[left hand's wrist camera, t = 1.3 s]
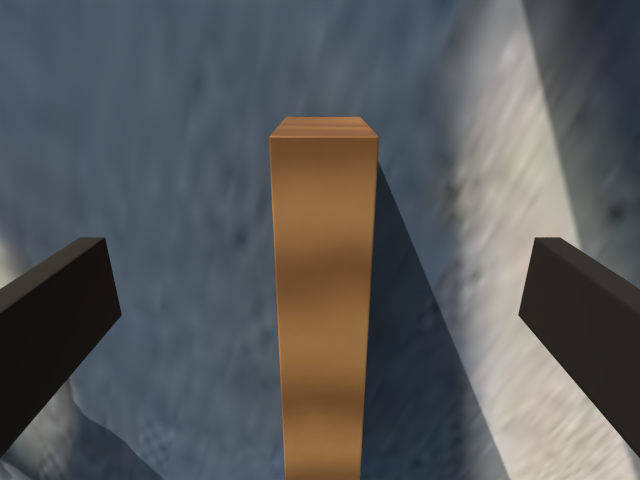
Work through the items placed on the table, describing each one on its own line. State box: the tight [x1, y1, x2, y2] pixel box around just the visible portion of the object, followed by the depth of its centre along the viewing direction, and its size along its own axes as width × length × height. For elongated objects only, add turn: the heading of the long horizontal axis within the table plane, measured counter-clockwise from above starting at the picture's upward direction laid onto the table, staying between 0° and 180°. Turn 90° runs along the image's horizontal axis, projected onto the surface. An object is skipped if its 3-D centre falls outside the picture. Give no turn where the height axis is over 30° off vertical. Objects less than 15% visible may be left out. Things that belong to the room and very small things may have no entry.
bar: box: [269, 117, 379, 480], centre depth 26 cm, size 28×5×8 cm, turn 0°
